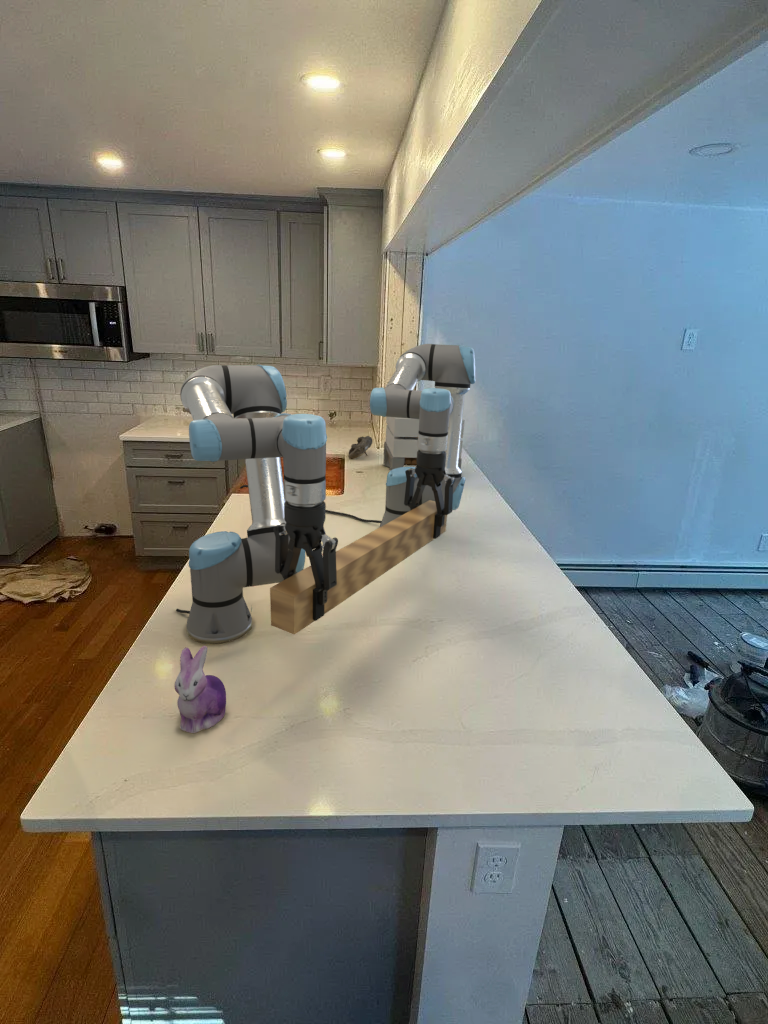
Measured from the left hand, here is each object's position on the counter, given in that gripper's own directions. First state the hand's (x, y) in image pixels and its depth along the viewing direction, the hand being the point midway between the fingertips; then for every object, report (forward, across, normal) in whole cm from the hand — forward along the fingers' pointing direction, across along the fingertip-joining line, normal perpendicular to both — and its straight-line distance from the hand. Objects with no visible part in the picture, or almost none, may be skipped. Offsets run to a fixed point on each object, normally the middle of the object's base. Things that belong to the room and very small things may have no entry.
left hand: (305, 612), depth 111 cm
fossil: (+19, -100, +170) cm, 198 cm away
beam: (+1, 0, +26) cm, 26 cm away
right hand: (0, 0, +51) cm, 51 cm away
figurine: (+18, -10, -18) cm, 27 cm away
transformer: (+19, -58, +160) cm, 171 cm away
